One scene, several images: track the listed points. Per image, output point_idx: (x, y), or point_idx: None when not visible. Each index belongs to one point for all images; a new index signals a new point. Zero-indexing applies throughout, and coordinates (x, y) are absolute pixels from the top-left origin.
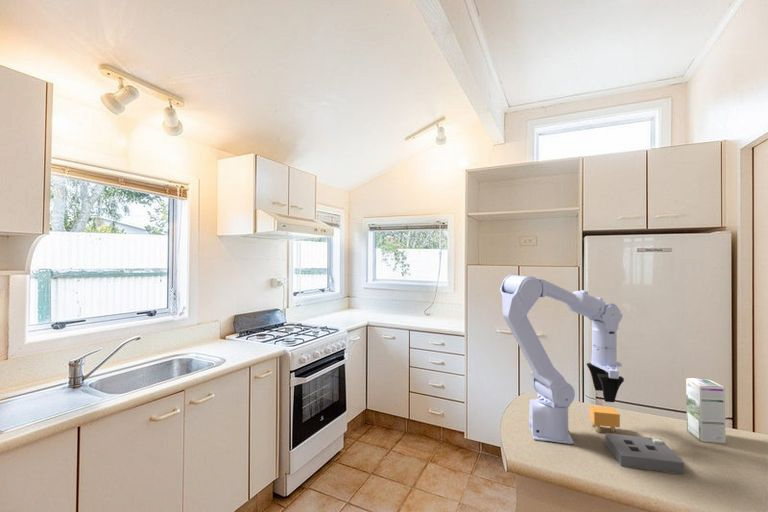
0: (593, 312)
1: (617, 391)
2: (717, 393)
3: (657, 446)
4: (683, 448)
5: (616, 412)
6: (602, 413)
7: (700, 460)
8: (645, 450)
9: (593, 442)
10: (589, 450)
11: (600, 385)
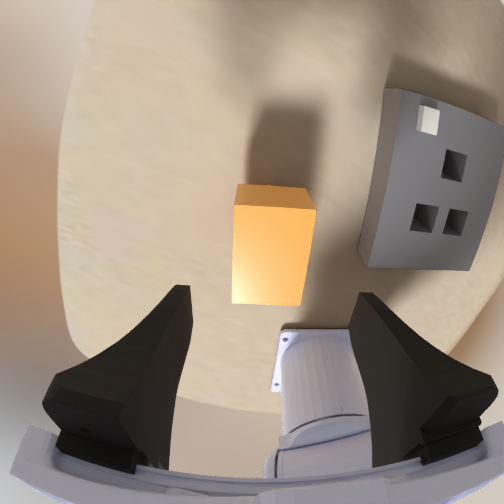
0: None
1: (413, 331)
2: None
3: (447, 139)
4: (365, 8)
5: (293, 215)
6: (304, 276)
7: (427, 17)
8: (464, 195)
9: (354, 280)
10: (391, 300)
11: (185, 325)
